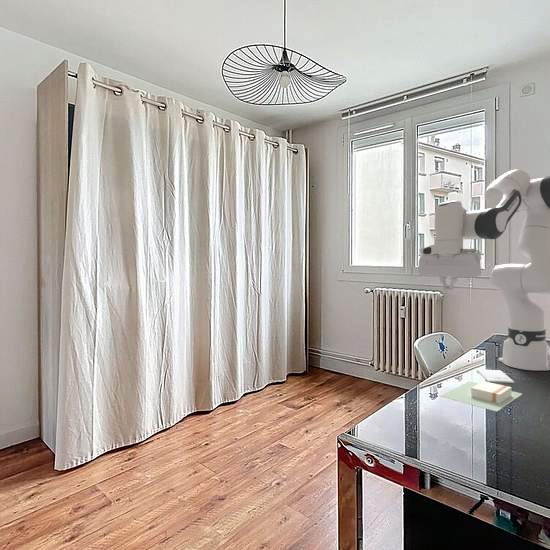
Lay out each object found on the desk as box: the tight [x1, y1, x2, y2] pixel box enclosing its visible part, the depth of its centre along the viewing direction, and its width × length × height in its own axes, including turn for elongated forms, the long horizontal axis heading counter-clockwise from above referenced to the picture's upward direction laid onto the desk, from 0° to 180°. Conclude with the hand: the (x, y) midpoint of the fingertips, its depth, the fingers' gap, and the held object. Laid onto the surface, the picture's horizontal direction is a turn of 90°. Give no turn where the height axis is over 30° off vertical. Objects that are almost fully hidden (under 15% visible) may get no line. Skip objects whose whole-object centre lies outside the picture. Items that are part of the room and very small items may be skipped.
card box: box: [471, 380, 513, 403], centre depth 118 cm, size 9×3×8 cm
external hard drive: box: [476, 368, 516, 384], centre depth 137 cm, size 2×8×12 cm
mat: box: [440, 380, 523, 412], centre depth 120 cm, size 20×16×1 cm
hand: (448, 290), depth 133 cm, fingers closed
